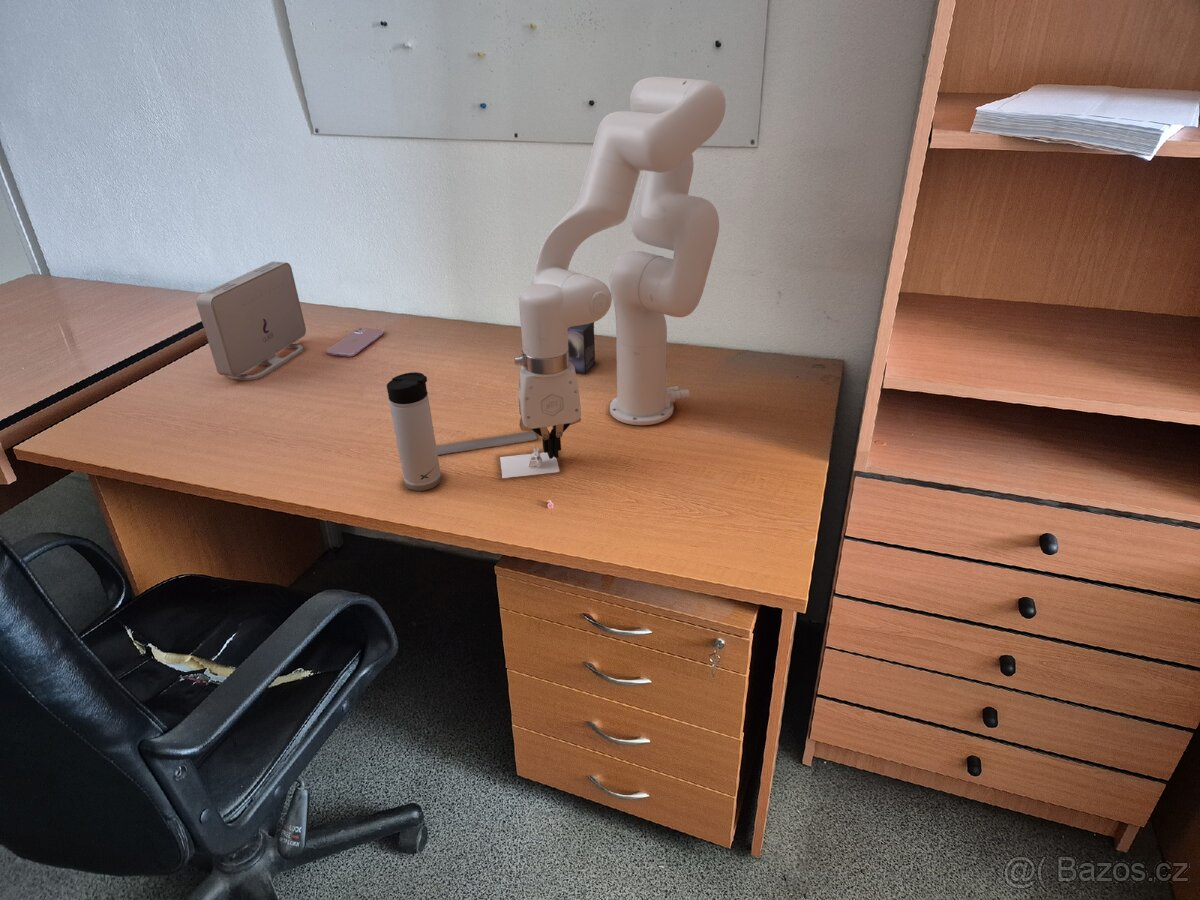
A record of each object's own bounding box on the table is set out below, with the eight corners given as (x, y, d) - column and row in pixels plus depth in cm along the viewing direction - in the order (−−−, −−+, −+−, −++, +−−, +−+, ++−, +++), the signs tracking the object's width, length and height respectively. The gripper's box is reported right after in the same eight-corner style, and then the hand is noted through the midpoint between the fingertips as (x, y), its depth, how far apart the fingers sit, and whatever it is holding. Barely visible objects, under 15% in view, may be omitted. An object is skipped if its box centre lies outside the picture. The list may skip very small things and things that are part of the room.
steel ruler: (534, 432, 149) (534, 431, 148) (537, 440, 146) (537, 438, 146) (428, 448, 144) (427, 447, 144) (429, 457, 142) (429, 455, 142)
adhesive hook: (543, 467, 138) (542, 452, 136) (529, 469, 137) (527, 454, 136) (541, 459, 140) (540, 444, 139) (527, 460, 140) (526, 445, 138)
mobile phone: (323, 350, 182) (358, 326, 194) (324, 354, 182) (359, 330, 194) (351, 353, 180) (385, 329, 192) (352, 357, 180) (386, 333, 192)
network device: (244, 388, 168) (218, 299, 158) (211, 383, 171) (183, 296, 160) (316, 342, 189) (298, 261, 179) (286, 338, 191) (266, 258, 181)
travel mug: (435, 493, 132) (417, 387, 121) (398, 489, 133) (378, 384, 123) (448, 473, 137) (432, 370, 127) (413, 470, 138) (394, 367, 128)
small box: (541, 368, 173) (537, 323, 167) (553, 356, 178) (550, 313, 173) (585, 375, 169) (583, 329, 164) (596, 363, 174) (595, 318, 169)
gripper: (505, 375, 125) (514, 472, 134) (595, 363, 128) (598, 458, 137) (498, 356, 131) (507, 450, 140) (584, 345, 134) (587, 438, 144)
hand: (552, 454), depth 139 cm, fingers closed
